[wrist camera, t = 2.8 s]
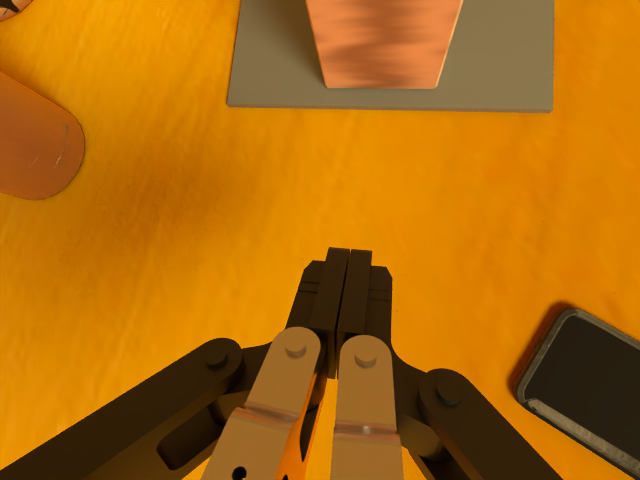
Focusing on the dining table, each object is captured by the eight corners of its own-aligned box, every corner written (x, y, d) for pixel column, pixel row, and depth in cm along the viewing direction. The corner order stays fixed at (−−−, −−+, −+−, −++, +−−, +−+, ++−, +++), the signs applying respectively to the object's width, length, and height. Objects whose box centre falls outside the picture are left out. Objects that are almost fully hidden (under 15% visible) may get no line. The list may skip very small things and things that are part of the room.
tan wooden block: (325, 89, 30) (297, -27, 19) (328, 58, 30) (302, -73, 19) (436, 90, 28) (475, -35, 17) (438, 57, 29) (477, -84, 18)
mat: (229, 107, 31) (226, 104, 31) (251, -53, 33) (249, -58, 33) (549, 112, 27) (552, 109, 27) (552, -70, 29) (555, -76, 29)
